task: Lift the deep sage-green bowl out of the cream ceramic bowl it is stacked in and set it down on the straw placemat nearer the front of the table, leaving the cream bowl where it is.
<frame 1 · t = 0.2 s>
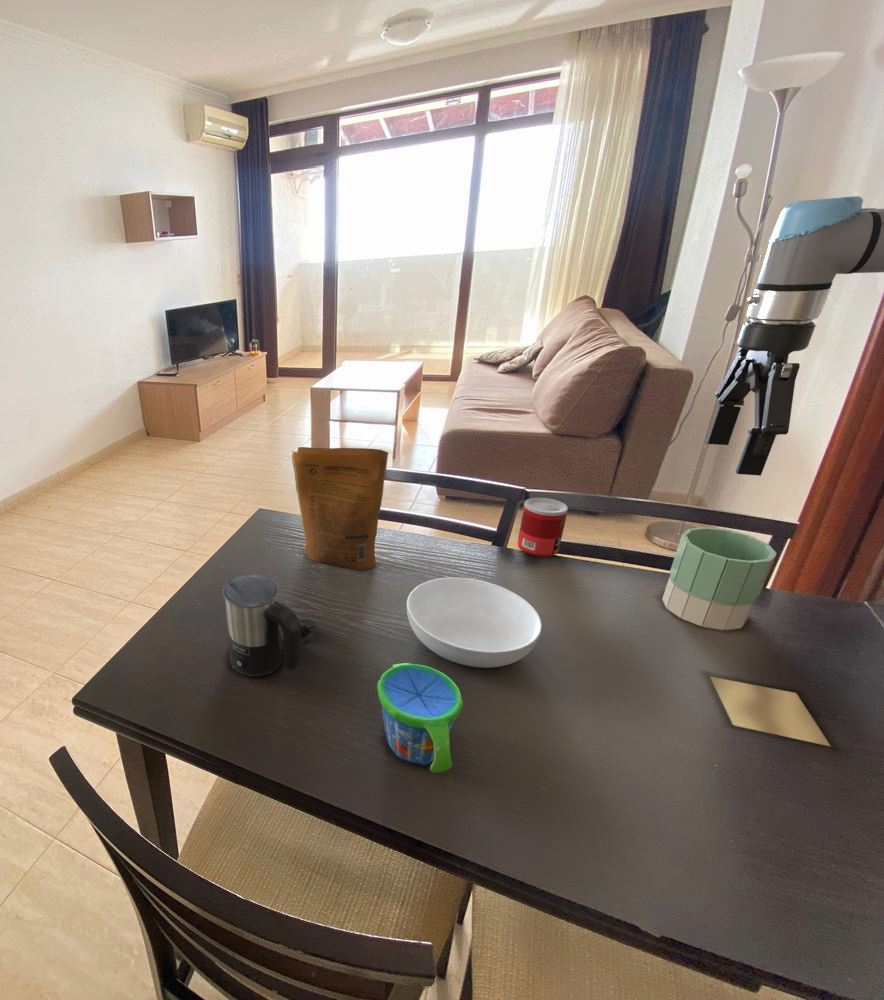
hand: (731, 458, 86), 29 cm above the table, tool pointing down, fingers open, 13 cm apart
snack cup: (413, 744, 76), on the table
placemat: (764, 710, 77), on the table
pancake mix bag: (338, 563, 120), on the table
cream bowl: (702, 611, 96), on the table, touching green bowl
green bowl: (706, 599, 95), point 2 cm above the table, touching cream bowl
canned food: (536, 550, 119), on the table
milk frother: (274, 650, 96), on the table
serving bowl: (466, 643, 94), on the table
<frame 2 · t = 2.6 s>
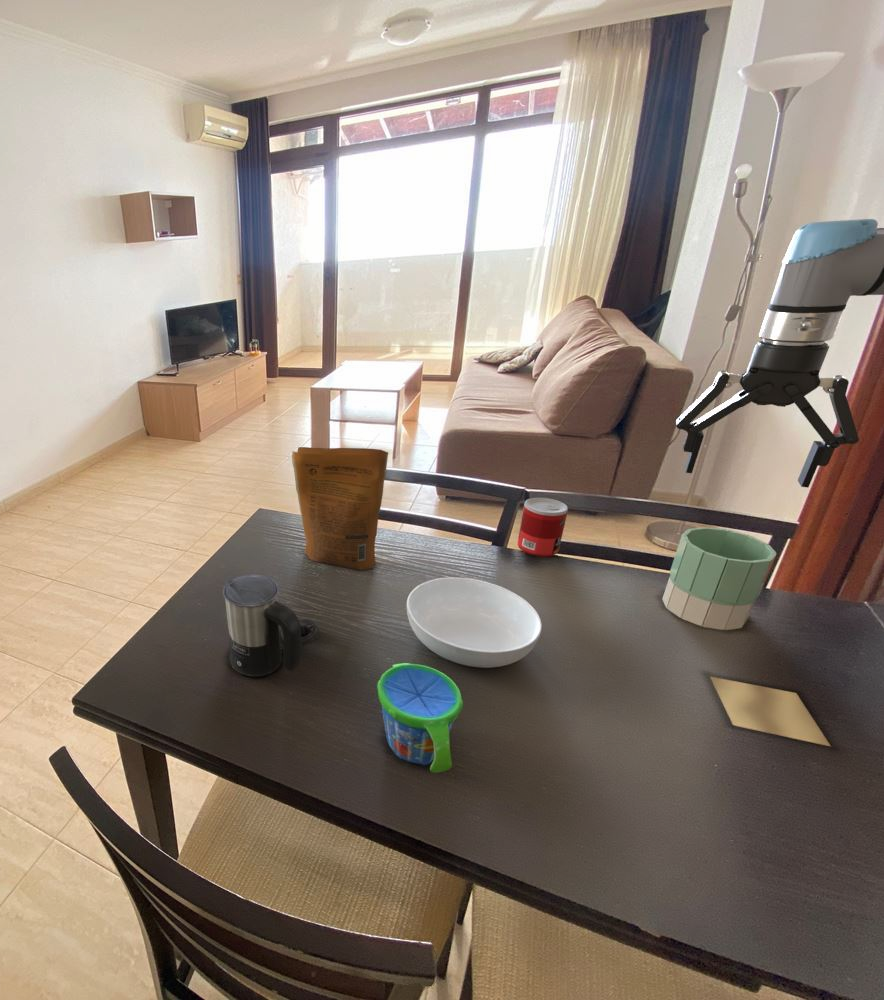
hand: (743, 477, 86), 26 cm above the table, tool pointing down, fingers open, 13 cm apart
nothing on the table moved.
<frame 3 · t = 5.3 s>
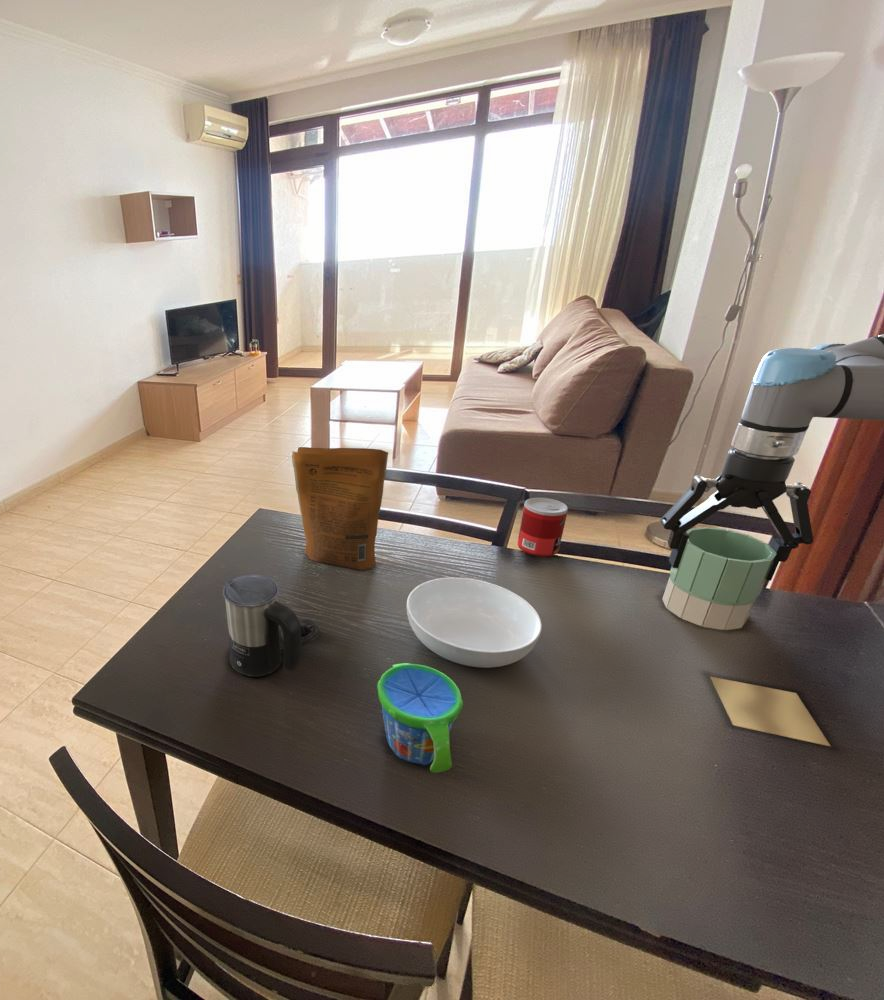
hand: (717, 570, 93), 9 cm above the table, tool pointing down, fingers closed on green bowl, 12 cm apart
green bowl: (706, 599, 95), point 3 cm above the table, touching cream bowl, gripper
everything else where it was.
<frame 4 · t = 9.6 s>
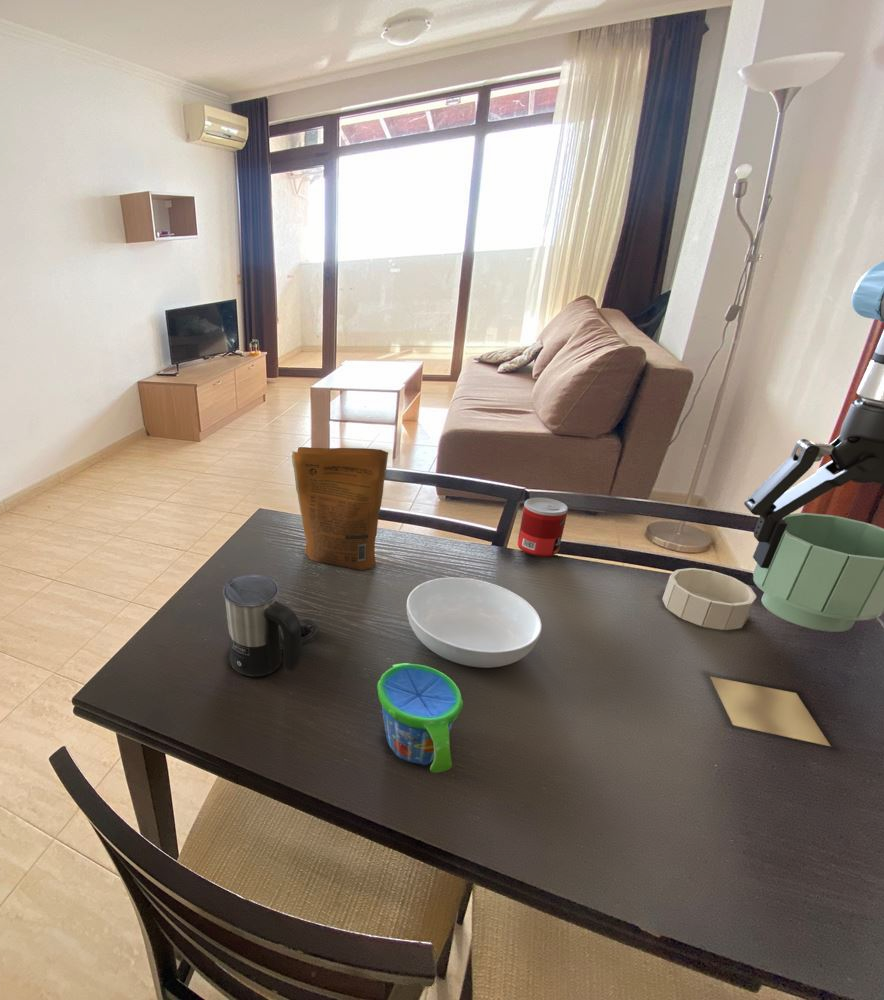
hand: (824, 570, 68), 23 cm above the table, tool pointing down, fingers closed on green bowl, 12 cm apart
cream bowl: (702, 611, 96), on the table
green bowl: (805, 611, 70), point 17 cm above the table, touching gripper
everything else where it was.
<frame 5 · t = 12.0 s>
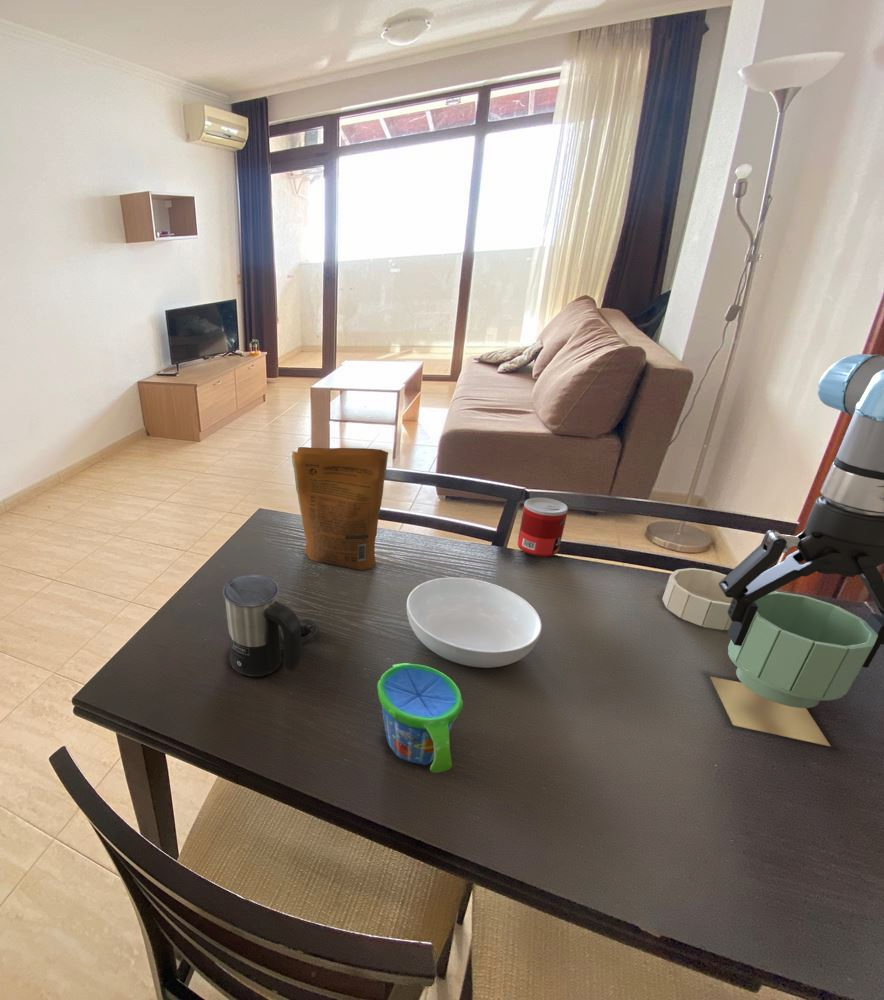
hand: (793, 649, 72), 11 cm above the table, tool pointing down, fingers closed on green bowl, 12 cm apart
green bowl: (776, 684, 74), point 5 cm above the table, touching gripper
everything else where it was.
when the fingers open (7 cm above the table, at t = 13.8 s): green bowl stays where it is, resting on placemat.
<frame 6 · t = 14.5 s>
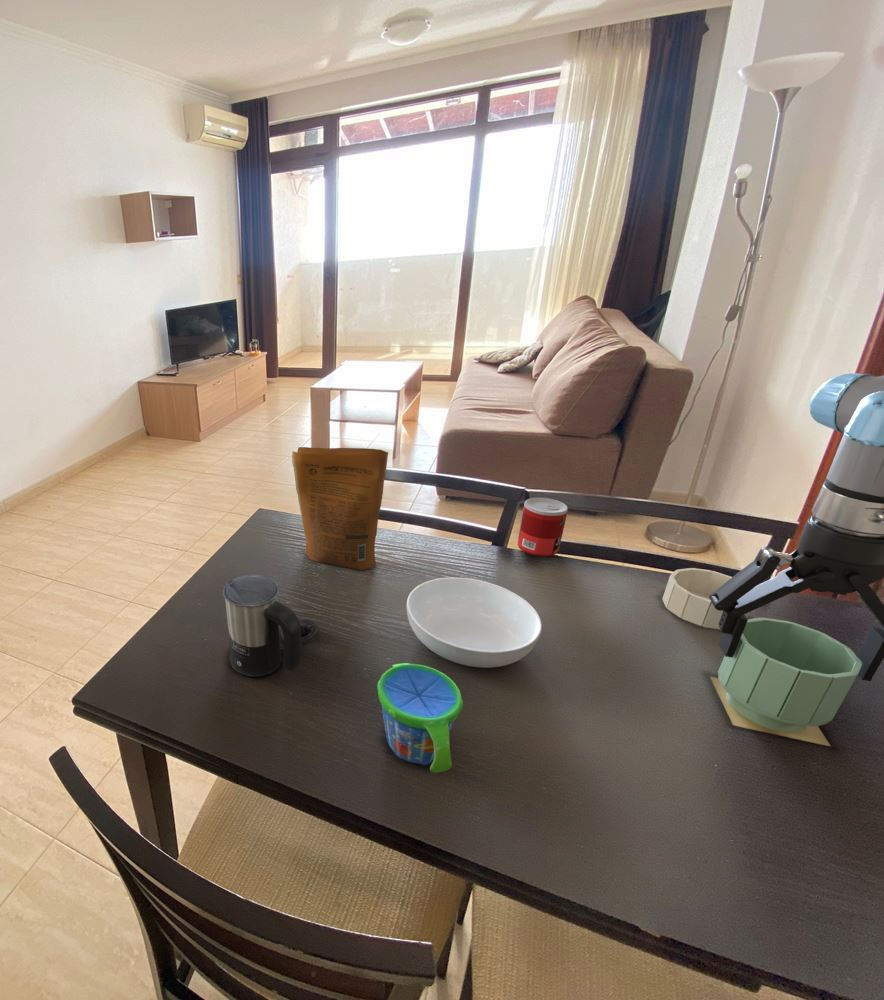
hand: (790, 662, 73), 9 cm above the table, tool pointing down, fingers open, 13 cm apart
green bowl: (765, 708, 76), resting on placemat
everything else where it was.
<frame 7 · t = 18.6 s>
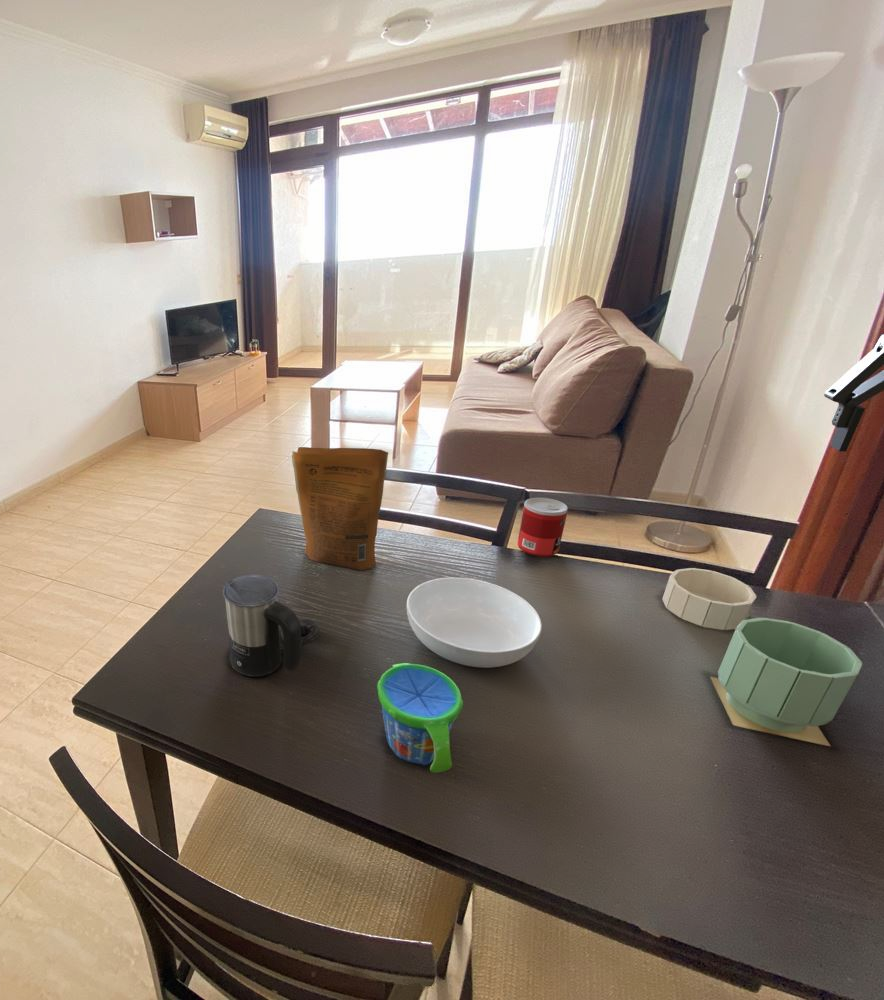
nothing on the table moved.
at the end: green bowl inside the target area on the placemat (0.0 cm from its centre), point 0.4 cm above the placemat's base; green bowl tilted 0°; cream bowl moved 0.0 cm from its start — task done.
